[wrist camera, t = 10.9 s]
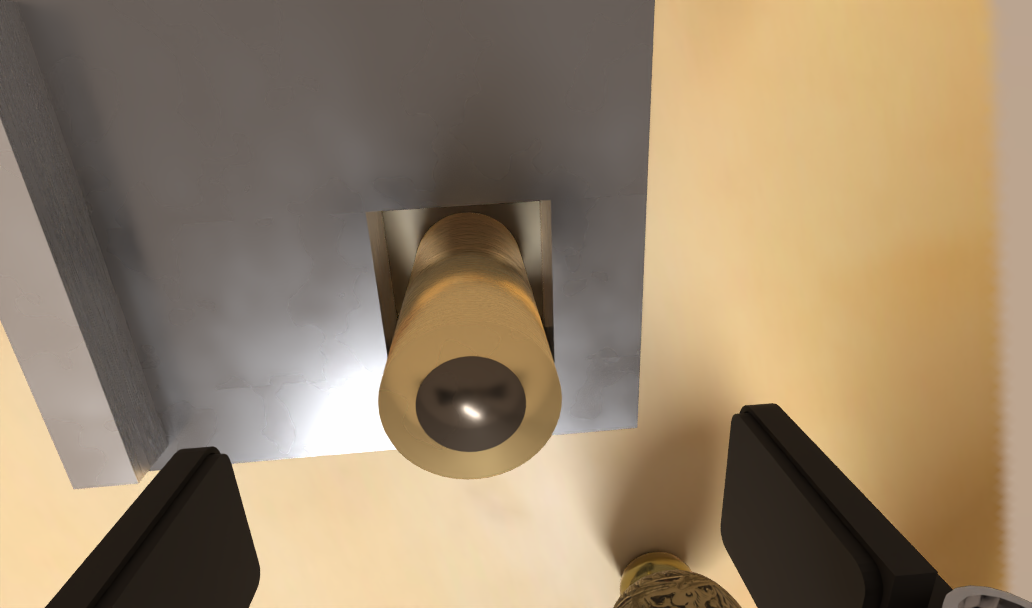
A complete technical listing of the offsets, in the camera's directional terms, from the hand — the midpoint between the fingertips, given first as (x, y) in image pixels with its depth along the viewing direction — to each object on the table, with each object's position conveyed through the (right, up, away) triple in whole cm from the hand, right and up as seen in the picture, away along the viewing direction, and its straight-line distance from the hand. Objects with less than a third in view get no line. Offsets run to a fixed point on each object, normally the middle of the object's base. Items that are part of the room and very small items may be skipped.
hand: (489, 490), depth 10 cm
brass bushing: (-1, +5, +11) cm, 12 cm away
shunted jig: (-5, +7, +10) cm, 13 cm away
